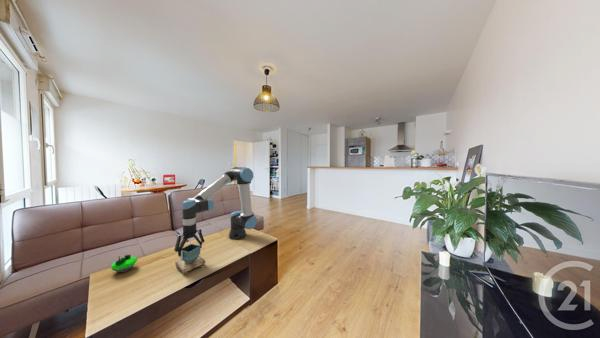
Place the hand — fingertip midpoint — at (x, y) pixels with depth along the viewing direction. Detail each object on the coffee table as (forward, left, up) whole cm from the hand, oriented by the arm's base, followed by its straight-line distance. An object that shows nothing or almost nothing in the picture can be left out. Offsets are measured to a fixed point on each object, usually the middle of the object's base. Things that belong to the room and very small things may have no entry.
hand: (190, 256), depth 119 cm
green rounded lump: (+27, -29, -7) cm, 41 cm away
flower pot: (0, 0, -3) cm, 3 cm away
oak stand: (0, 0, -7) cm, 7 cm away
